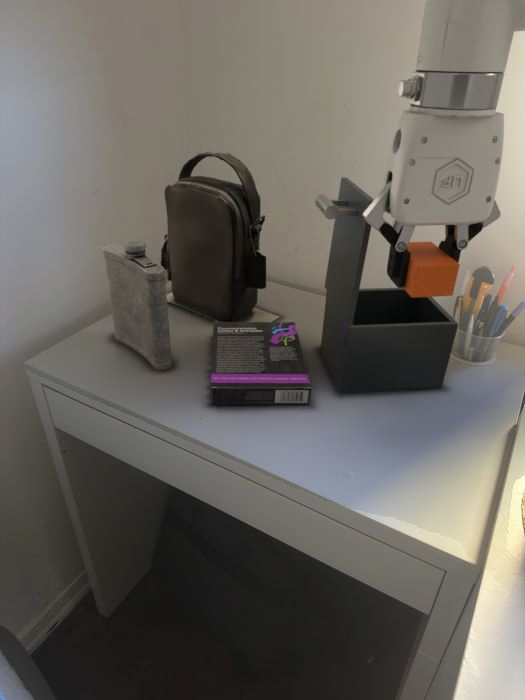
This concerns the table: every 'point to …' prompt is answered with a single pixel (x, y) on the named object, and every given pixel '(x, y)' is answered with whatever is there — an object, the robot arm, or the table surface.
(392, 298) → the bin
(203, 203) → the shoulder bag
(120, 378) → the table surface
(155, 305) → the flask
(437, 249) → the orange rectangular block
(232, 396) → the box
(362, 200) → the bin lid
